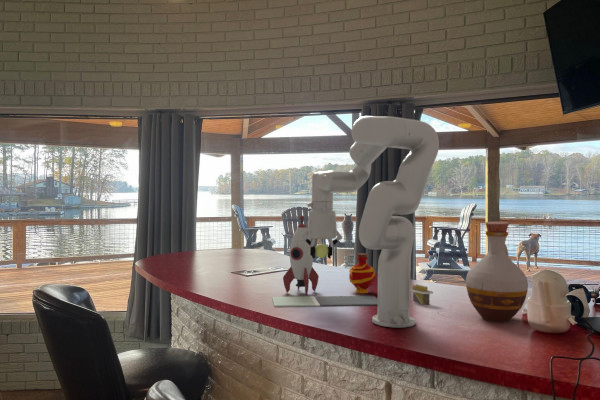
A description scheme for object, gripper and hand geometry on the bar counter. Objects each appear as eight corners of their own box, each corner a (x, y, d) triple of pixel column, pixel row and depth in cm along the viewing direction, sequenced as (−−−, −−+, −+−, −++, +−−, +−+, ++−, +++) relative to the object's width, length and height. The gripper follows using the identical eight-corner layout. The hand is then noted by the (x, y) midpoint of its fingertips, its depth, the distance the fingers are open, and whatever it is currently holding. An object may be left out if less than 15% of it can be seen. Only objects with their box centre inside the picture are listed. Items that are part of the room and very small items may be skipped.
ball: (329, 258, 169) (329, 244, 169) (315, 258, 168) (315, 244, 168) (327, 257, 174) (327, 243, 174) (313, 256, 173) (313, 243, 173)
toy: (282, 293, 185) (283, 215, 185) (295, 289, 194) (296, 214, 194) (308, 296, 180) (308, 216, 180) (320, 291, 189) (321, 215, 189)
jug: (478, 308, 163) (479, 219, 163) (535, 317, 152) (537, 221, 151) (456, 319, 148) (457, 221, 148) (518, 329, 136) (519, 224, 136)
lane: (384, 305, 166) (384, 303, 166) (274, 306, 162) (274, 305, 162) (373, 297, 180) (373, 295, 180) (272, 298, 176) (272, 296, 176)
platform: (425, 311, 160) (425, 291, 160) (389, 301, 175) (389, 283, 175) (450, 307, 166) (451, 288, 166) (414, 297, 181) (414, 280, 181)
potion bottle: (374, 295, 184) (375, 255, 184) (347, 293, 186) (347, 254, 186) (375, 290, 194) (376, 252, 194) (350, 288, 196) (350, 252, 196)
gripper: (299, 206, 166) (298, 259, 167) (347, 207, 168) (346, 259, 168) (297, 206, 174) (296, 256, 174) (344, 206, 175) (343, 256, 175)
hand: (321, 257), depth 171 cm, fingers closed on ball, 5 cm apart
